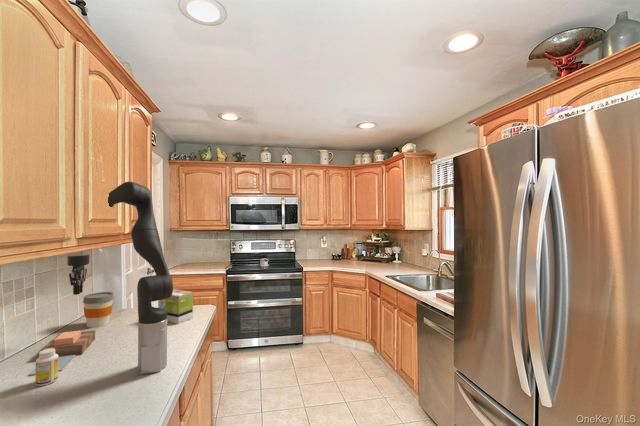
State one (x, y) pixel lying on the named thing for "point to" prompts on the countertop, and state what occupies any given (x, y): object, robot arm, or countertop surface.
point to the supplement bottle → (46, 367)
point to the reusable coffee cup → (98, 308)
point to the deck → (72, 345)
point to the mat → (59, 363)
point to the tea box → (178, 306)
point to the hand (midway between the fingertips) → (78, 293)
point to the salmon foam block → (67, 338)
